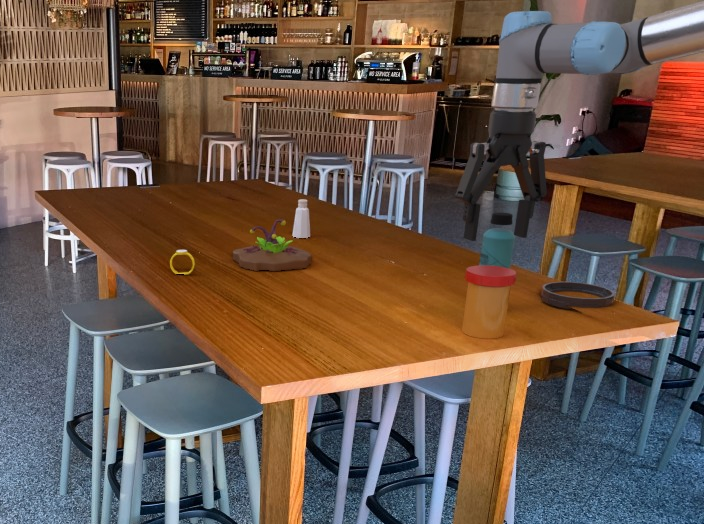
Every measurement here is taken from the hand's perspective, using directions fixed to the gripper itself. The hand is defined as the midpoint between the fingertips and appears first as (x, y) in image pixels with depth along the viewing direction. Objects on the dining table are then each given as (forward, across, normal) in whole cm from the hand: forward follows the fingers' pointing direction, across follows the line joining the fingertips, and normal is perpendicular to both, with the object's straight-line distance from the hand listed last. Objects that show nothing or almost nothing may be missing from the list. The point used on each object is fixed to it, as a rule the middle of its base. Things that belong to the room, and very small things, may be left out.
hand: (495, 237), depth 145 cm
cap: (+7, 0, 0) cm, 7 cm away
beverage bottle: (+19, +11, +14) cm, 26 cm away
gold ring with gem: (+19, -44, +60) cm, 76 cm away
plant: (+19, -18, +66) cm, 71 cm away
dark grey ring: (+18, +31, +12) cm, 38 cm away
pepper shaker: (+19, +2, +95) cm, 97 cm away
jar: (+18, 0, 0) cm, 18 cm away
